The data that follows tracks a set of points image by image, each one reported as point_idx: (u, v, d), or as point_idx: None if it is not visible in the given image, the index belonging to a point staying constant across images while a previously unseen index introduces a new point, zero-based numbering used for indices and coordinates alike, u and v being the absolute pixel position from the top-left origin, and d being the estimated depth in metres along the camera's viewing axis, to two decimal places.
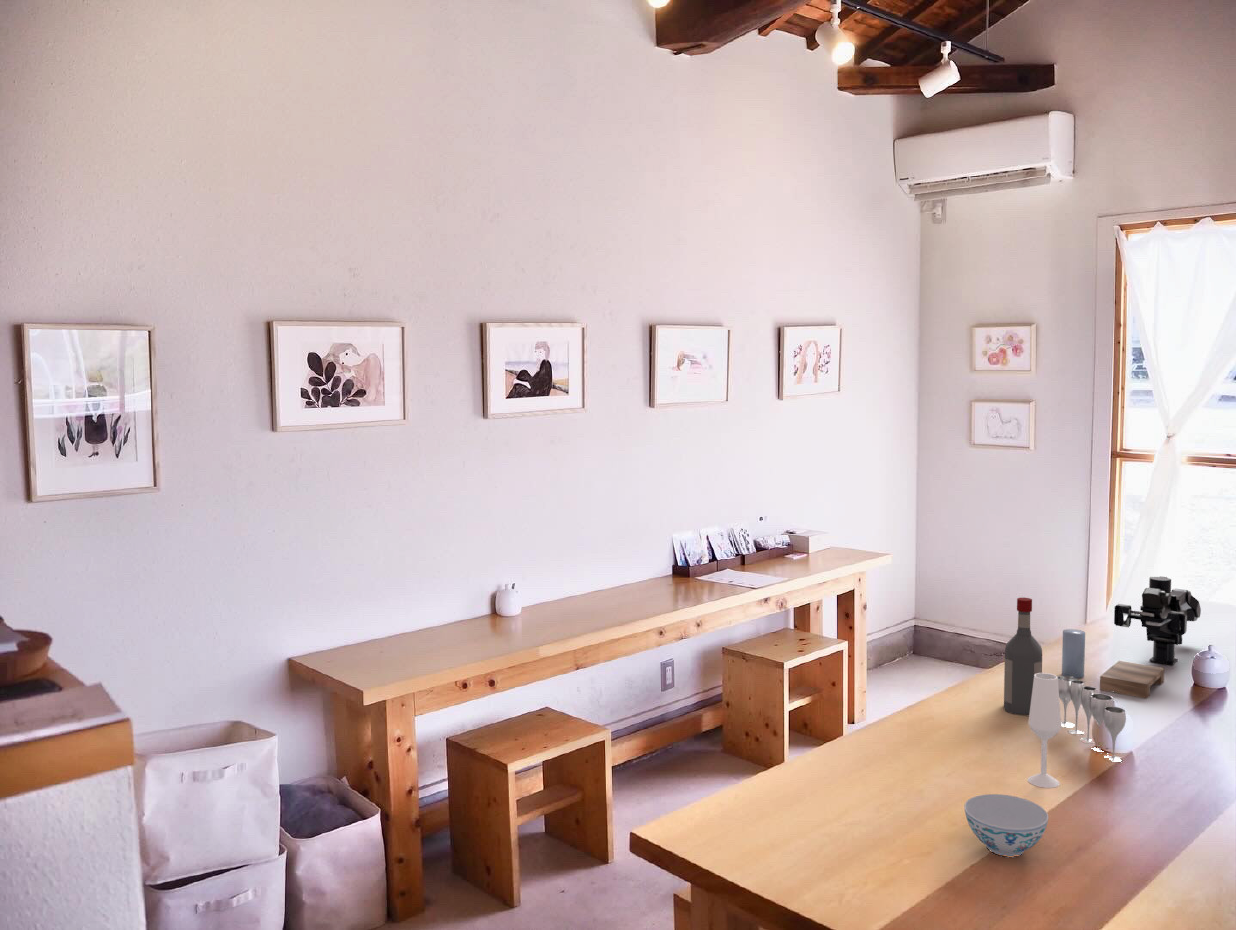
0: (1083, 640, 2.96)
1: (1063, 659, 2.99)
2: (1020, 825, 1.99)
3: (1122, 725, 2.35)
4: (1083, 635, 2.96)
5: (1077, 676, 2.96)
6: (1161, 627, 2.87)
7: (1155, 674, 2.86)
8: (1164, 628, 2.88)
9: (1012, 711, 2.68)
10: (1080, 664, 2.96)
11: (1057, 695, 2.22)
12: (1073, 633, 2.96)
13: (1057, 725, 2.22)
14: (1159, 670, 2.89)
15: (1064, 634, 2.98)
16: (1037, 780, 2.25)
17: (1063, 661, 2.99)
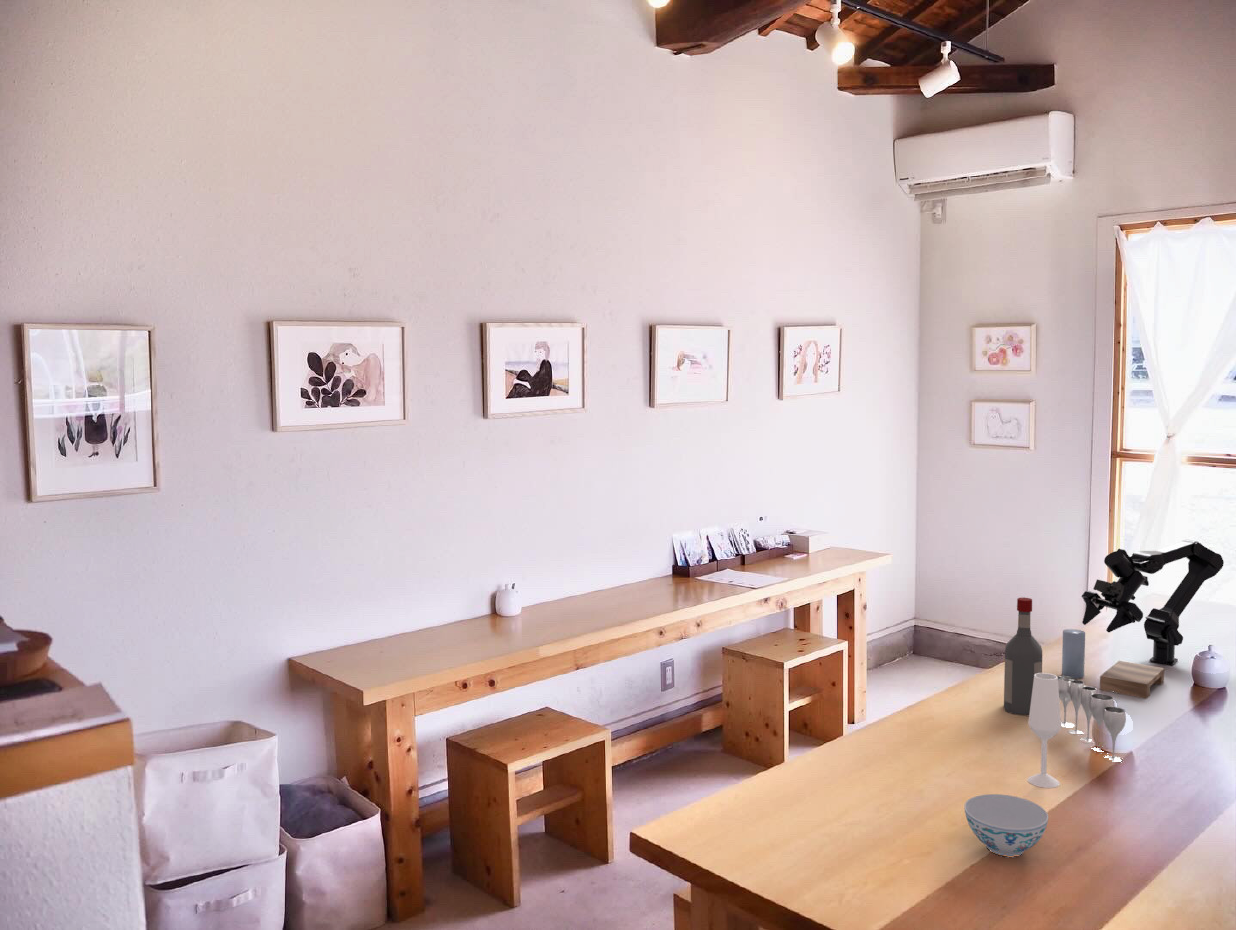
0: (1083, 640, 2.96)
1: (1063, 659, 2.99)
2: (1020, 825, 1.99)
3: (1122, 725, 2.35)
4: (1083, 635, 2.96)
5: (1077, 676, 2.96)
6: (1109, 630, 2.96)
7: (1155, 674, 2.86)
8: (1114, 627, 2.96)
9: (1012, 711, 2.68)
10: (1080, 664, 2.96)
11: (1057, 695, 2.22)
12: (1073, 633, 2.96)
13: (1057, 725, 2.22)
14: (1159, 670, 2.89)
15: (1064, 634, 2.98)
16: (1037, 780, 2.25)
17: (1063, 661, 2.99)
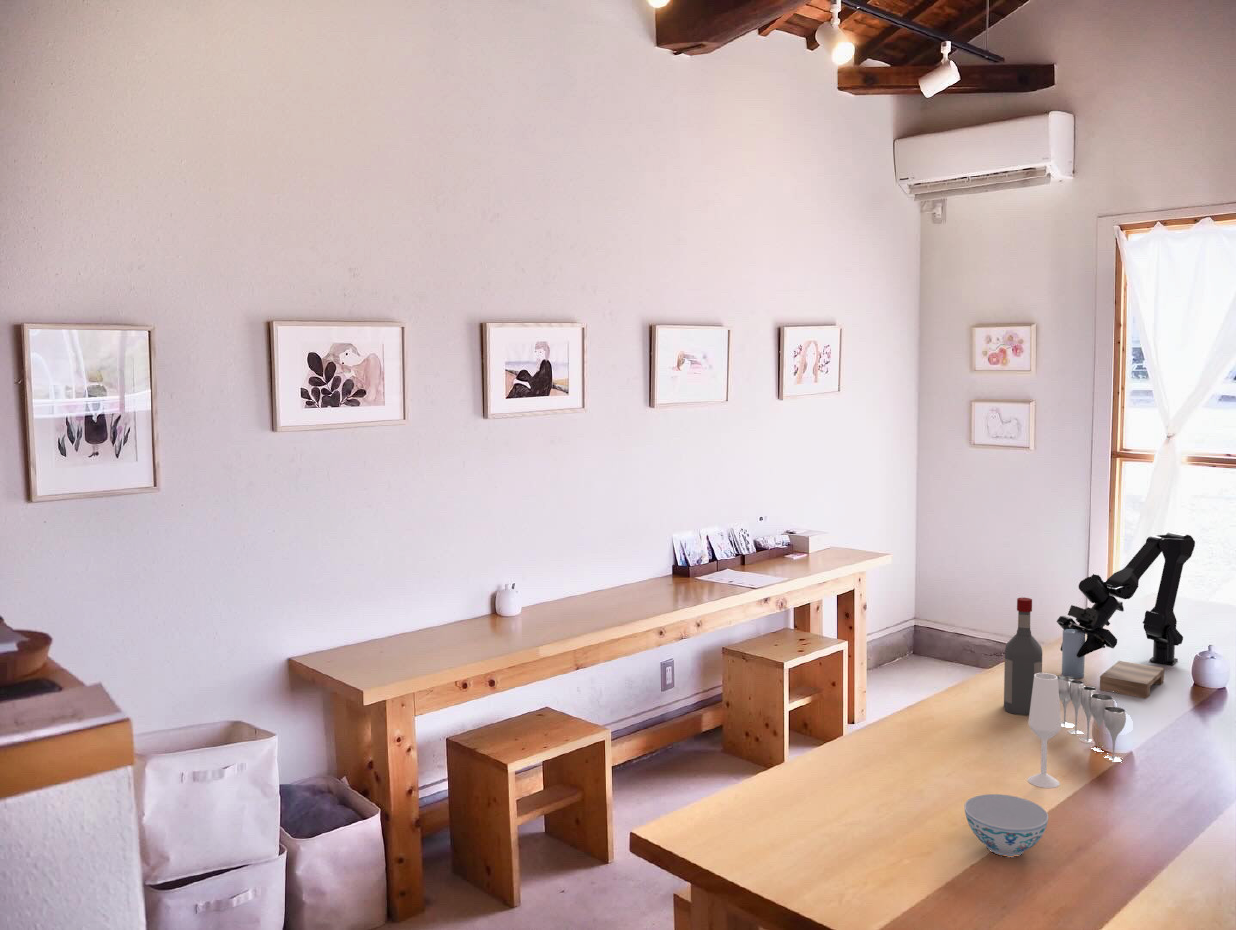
0: (1083, 640, 2.96)
1: (1063, 659, 2.99)
2: (1020, 825, 1.99)
3: (1122, 725, 2.35)
4: (1083, 635, 2.96)
5: (1077, 676, 2.96)
6: (1079, 655, 2.95)
7: (1155, 674, 2.86)
8: (1084, 653, 2.95)
9: (1012, 711, 2.68)
10: (1080, 664, 2.96)
11: (1057, 695, 2.22)
12: (1073, 633, 2.96)
13: (1057, 725, 2.22)
14: (1159, 670, 2.89)
15: (1064, 634, 2.98)
16: (1037, 780, 2.25)
17: (1063, 661, 2.99)
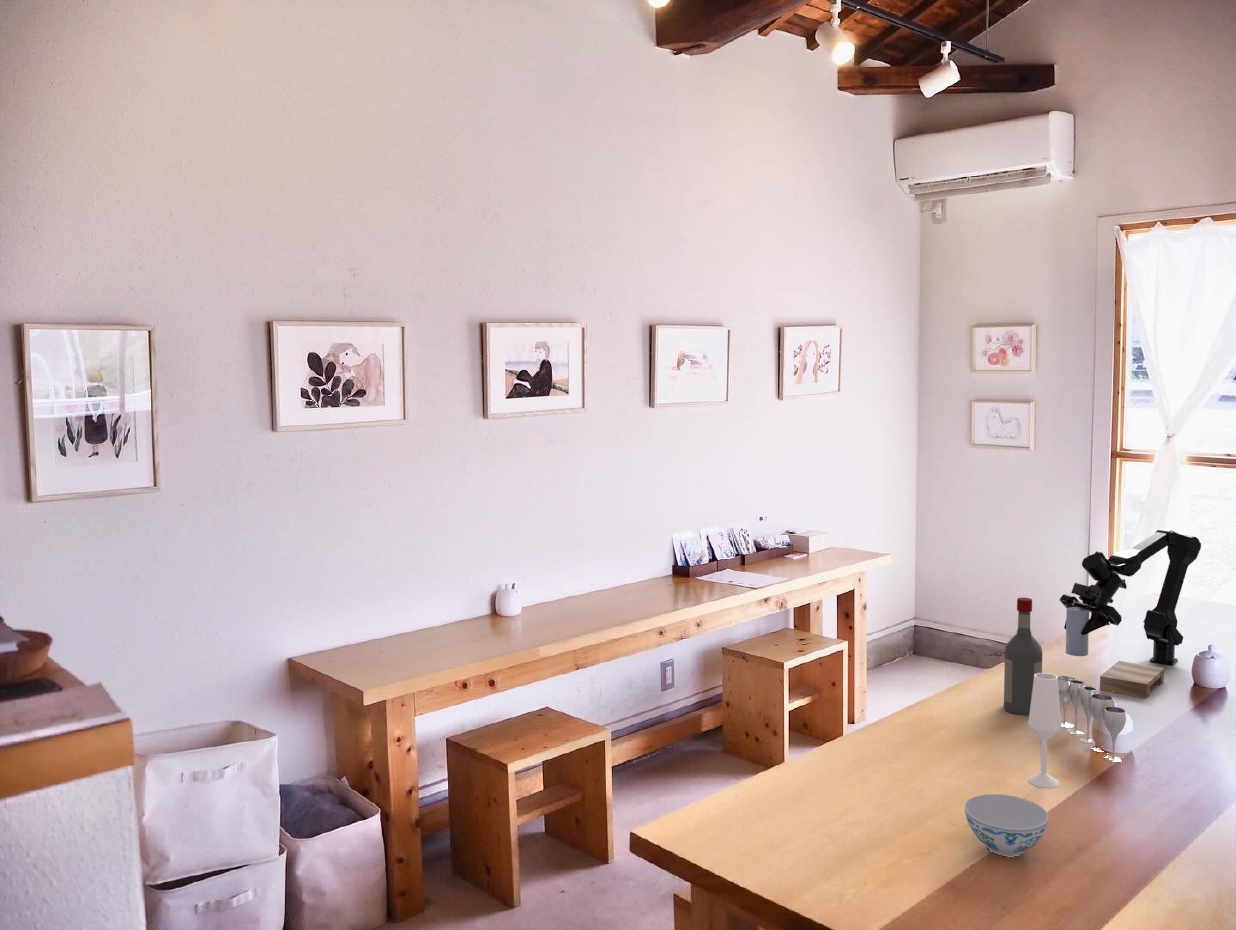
0: (1087, 618, 2.94)
1: (1067, 637, 2.97)
2: (1020, 825, 1.99)
3: (1122, 725, 2.35)
4: (1087, 613, 2.94)
5: (1081, 654, 2.95)
6: (1084, 633, 2.93)
7: (1155, 674, 2.86)
8: (1089, 630, 2.93)
9: (1012, 711, 2.68)
10: (1084, 641, 2.94)
11: (1057, 695, 2.22)
12: (1077, 611, 2.95)
13: (1057, 725, 2.22)
14: (1159, 670, 2.89)
15: (1068, 612, 2.96)
16: (1037, 780, 2.25)
17: (1067, 639, 2.97)
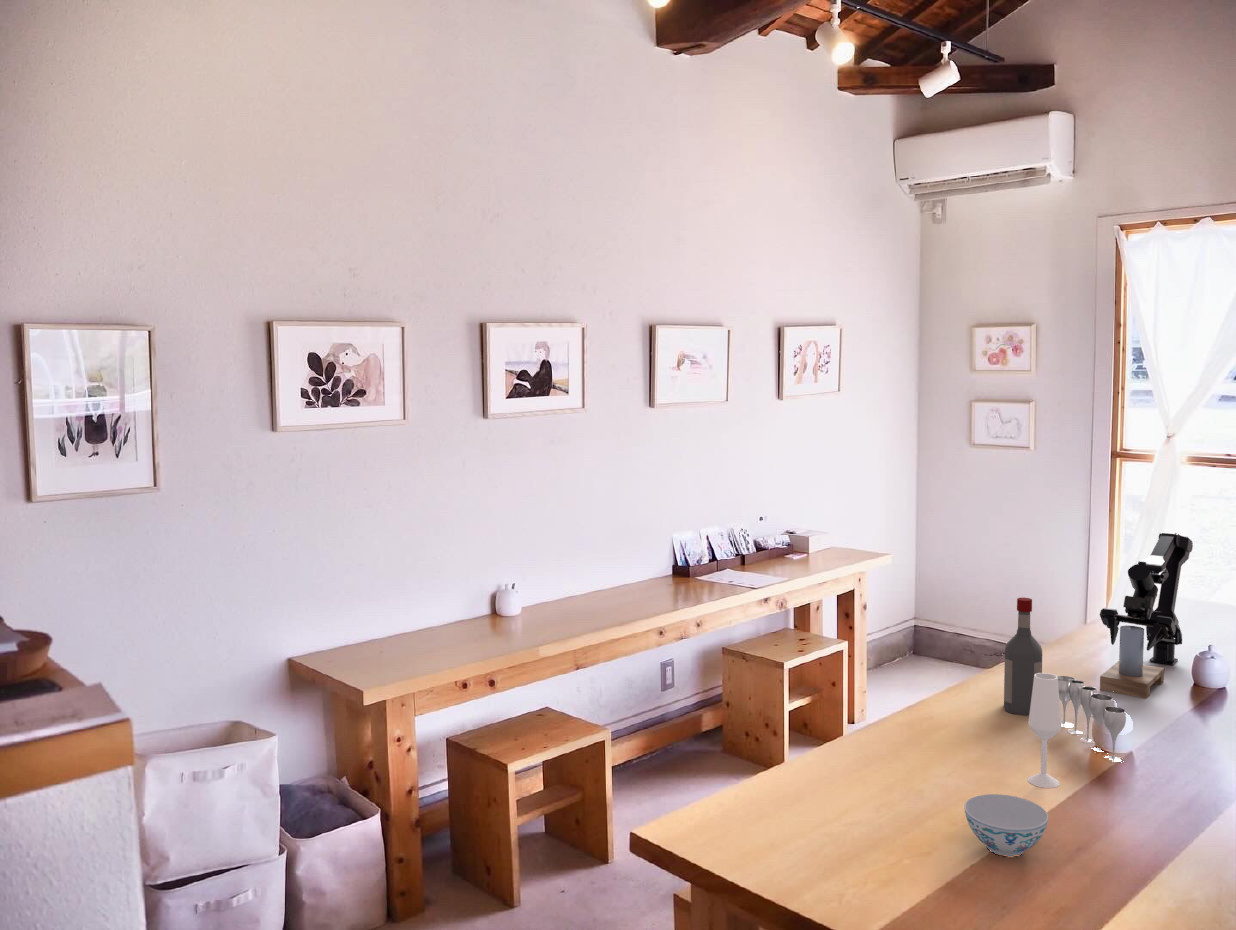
0: (1143, 636, 2.85)
1: (1124, 658, 2.85)
2: (1020, 825, 1.99)
3: (1122, 725, 2.35)
4: None
5: (1140, 674, 2.84)
6: (1149, 648, 2.82)
7: (1155, 674, 2.86)
8: (1152, 645, 2.83)
9: (1012, 711, 2.68)
10: (1142, 661, 2.84)
11: (1057, 695, 2.22)
12: (1135, 630, 2.84)
13: (1057, 725, 2.22)
14: (1159, 670, 2.89)
15: (1126, 632, 2.84)
16: (1037, 780, 2.25)
17: (1124, 660, 2.85)
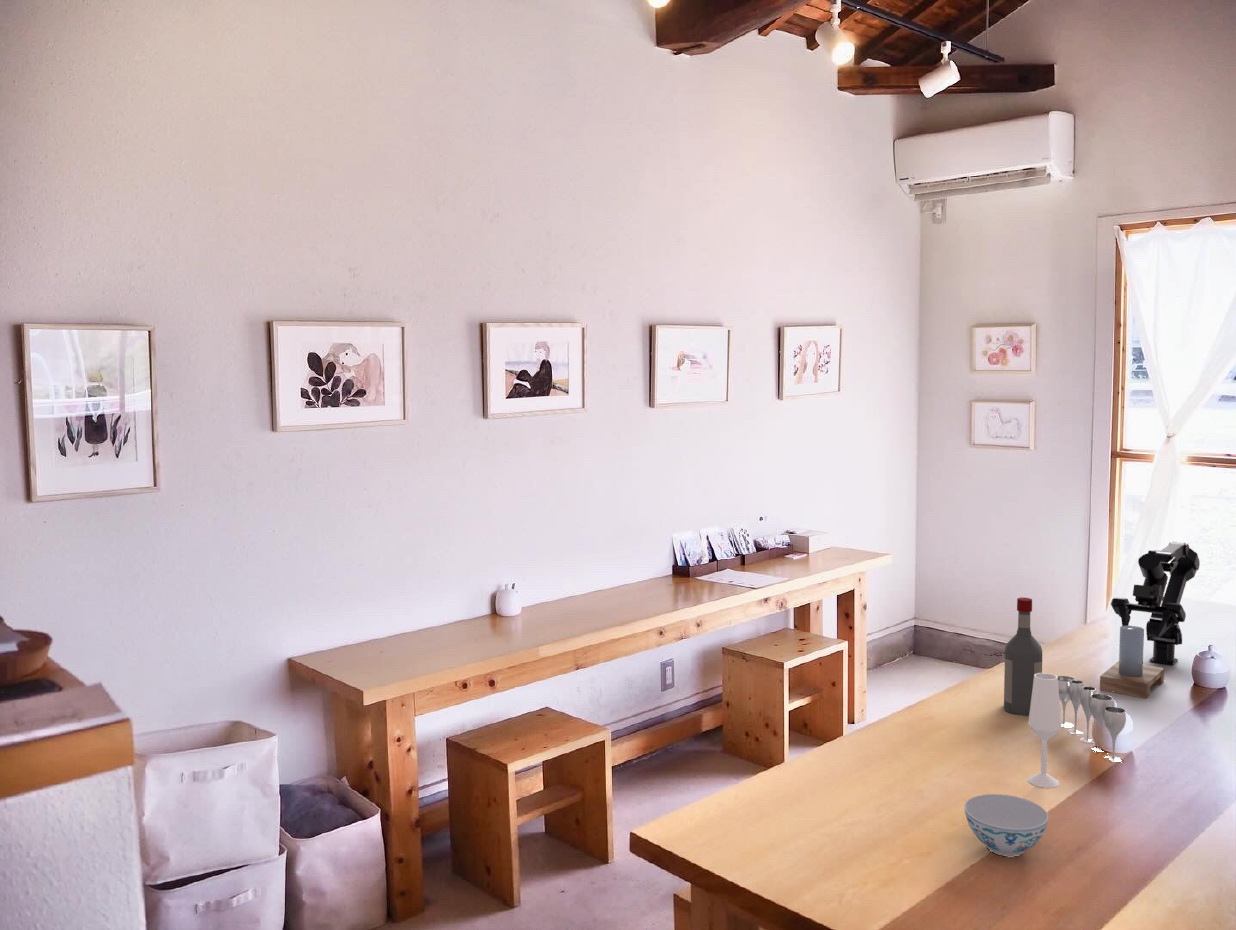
0: (1143, 636, 2.84)
1: (1124, 658, 2.85)
2: (1020, 825, 1.99)
3: (1122, 725, 2.35)
4: (1143, 631, 2.84)
5: (1140, 674, 2.84)
6: (1159, 634, 2.89)
7: (1155, 674, 2.86)
8: (1163, 631, 2.89)
9: (1012, 711, 2.68)
10: (1142, 661, 2.84)
11: (1057, 695, 2.22)
12: (1135, 630, 2.84)
13: (1057, 725, 2.22)
14: (1159, 670, 2.89)
15: (1126, 632, 2.84)
16: (1037, 780, 2.25)
17: (1124, 660, 2.85)
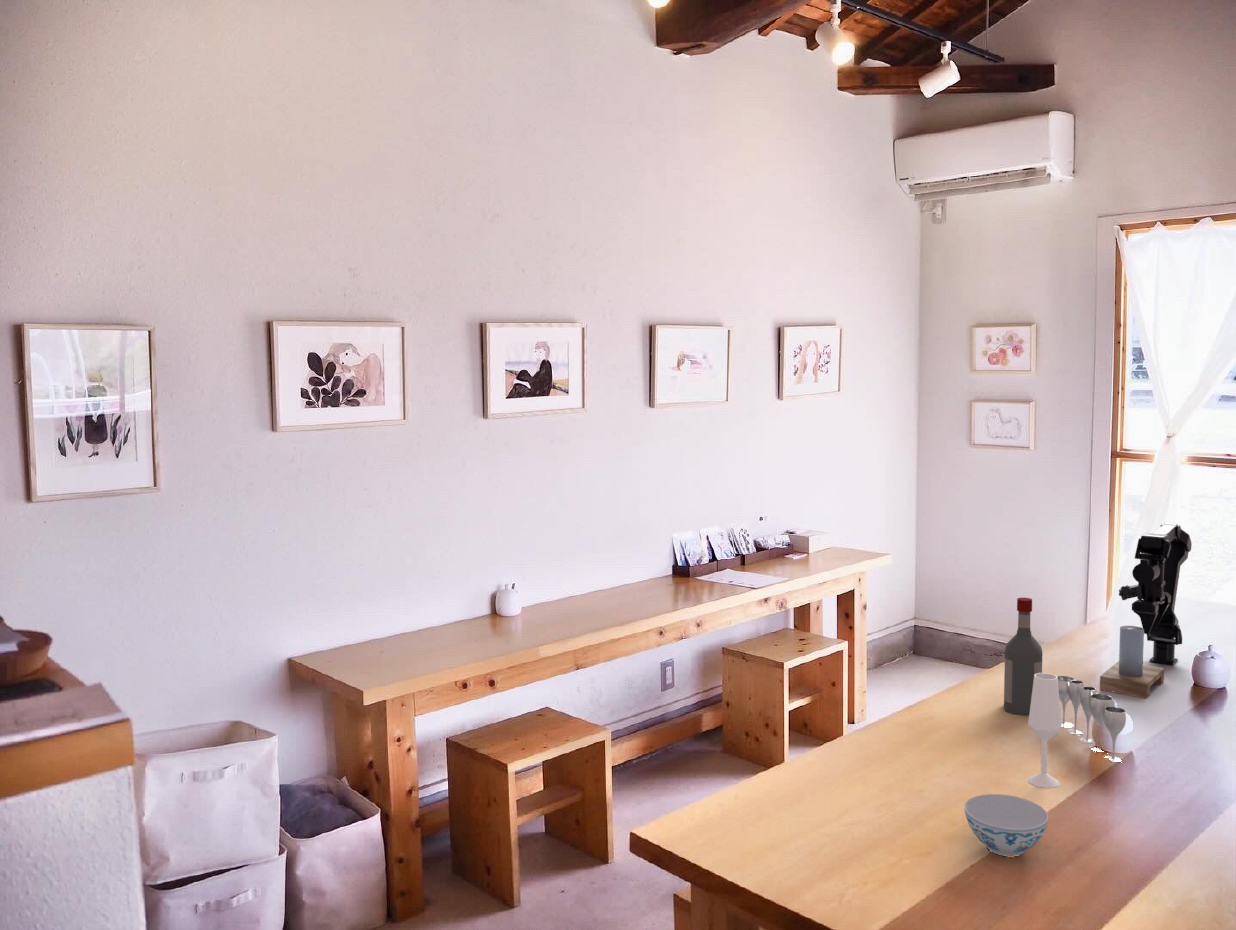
0: (1143, 636, 2.84)
1: (1124, 658, 2.85)
2: (1020, 825, 1.99)
3: (1122, 725, 2.35)
4: (1143, 631, 2.84)
5: (1140, 674, 2.84)
6: (1145, 632, 2.94)
7: (1155, 674, 2.86)
8: (1147, 627, 2.93)
9: (1012, 711, 2.68)
10: (1142, 661, 2.84)
11: (1057, 695, 2.22)
12: (1135, 630, 2.84)
13: (1057, 725, 2.22)
14: (1159, 670, 2.89)
15: (1126, 632, 2.84)
16: (1037, 780, 2.25)
17: (1124, 660, 2.85)
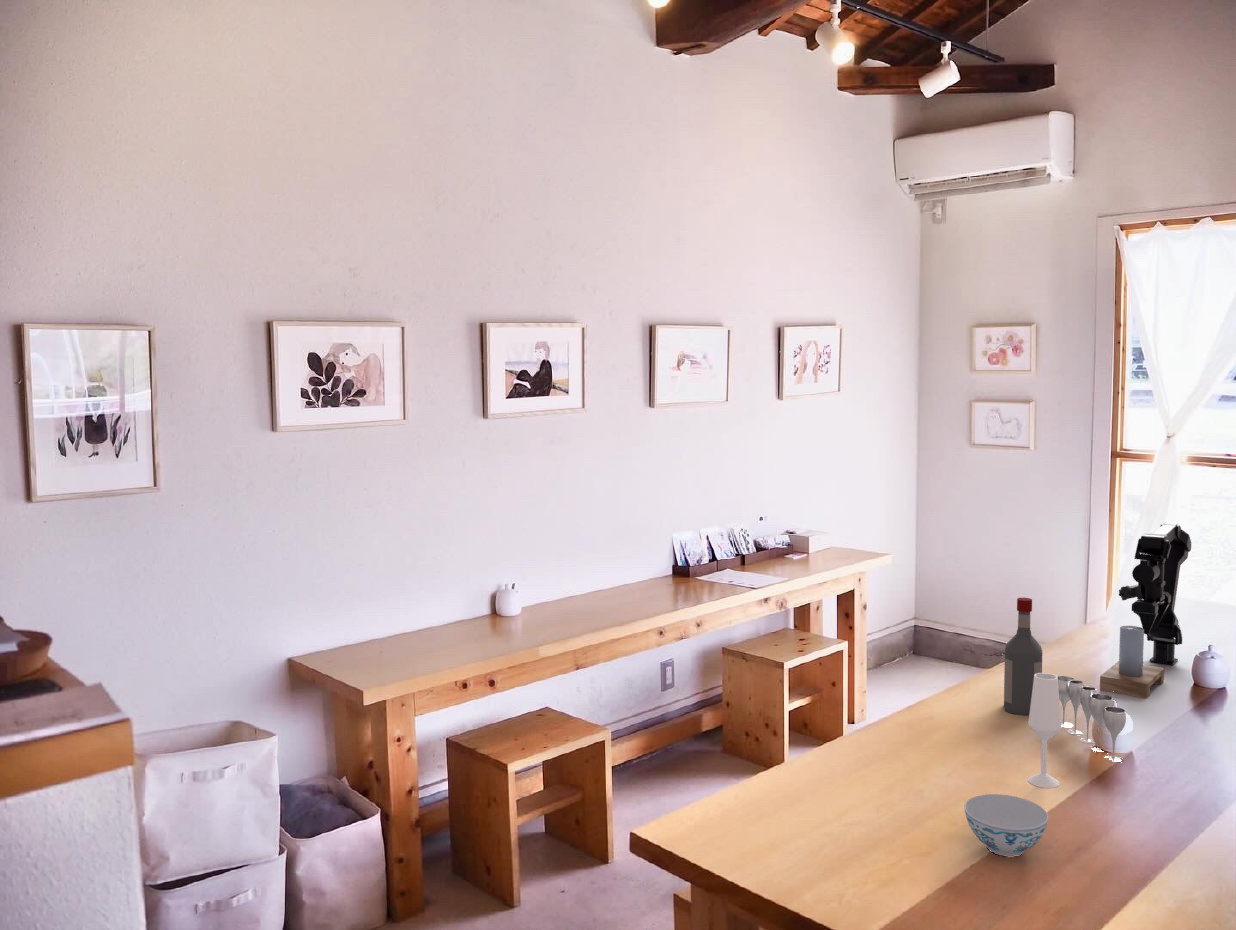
0: (1143, 636, 2.84)
1: (1124, 658, 2.85)
2: (1020, 825, 1.99)
3: (1122, 725, 2.35)
4: (1143, 631, 2.84)
5: (1140, 674, 2.84)
6: (1145, 632, 2.94)
7: (1155, 674, 2.86)
8: (1147, 628, 2.93)
9: (1012, 711, 2.68)
10: (1142, 661, 2.84)
11: (1057, 695, 2.22)
12: (1135, 630, 2.84)
13: (1057, 725, 2.22)
14: (1159, 670, 2.89)
15: (1126, 632, 2.84)
16: (1037, 780, 2.25)
17: (1124, 660, 2.85)
